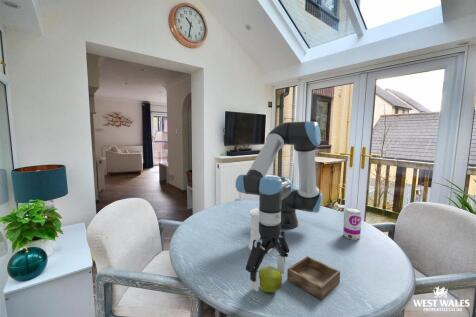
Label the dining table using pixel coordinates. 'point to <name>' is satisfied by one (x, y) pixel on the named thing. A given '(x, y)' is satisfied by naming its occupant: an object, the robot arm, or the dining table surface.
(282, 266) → the robot arm
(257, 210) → the decorative container
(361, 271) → the dining table surface
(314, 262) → the walnut box
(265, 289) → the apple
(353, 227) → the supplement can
